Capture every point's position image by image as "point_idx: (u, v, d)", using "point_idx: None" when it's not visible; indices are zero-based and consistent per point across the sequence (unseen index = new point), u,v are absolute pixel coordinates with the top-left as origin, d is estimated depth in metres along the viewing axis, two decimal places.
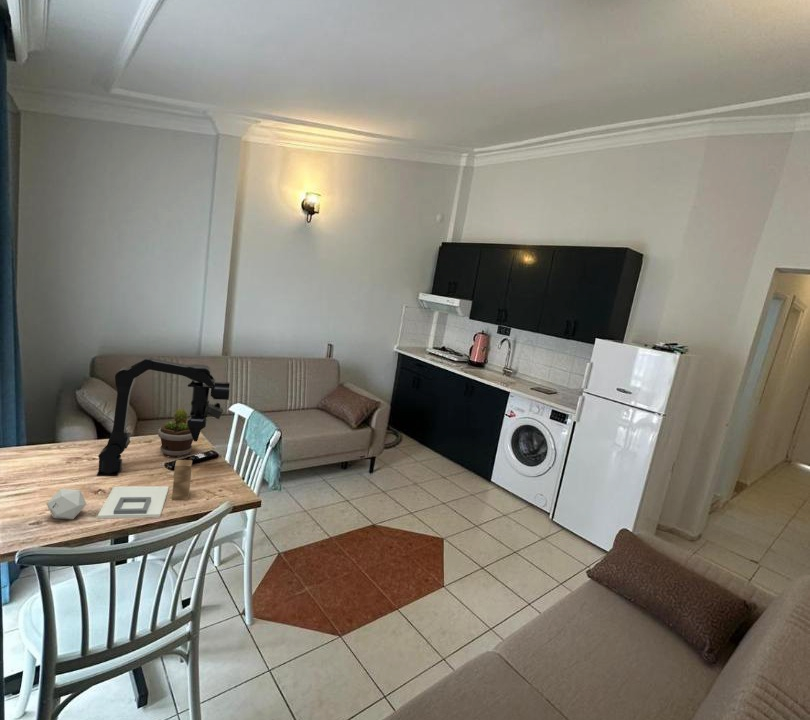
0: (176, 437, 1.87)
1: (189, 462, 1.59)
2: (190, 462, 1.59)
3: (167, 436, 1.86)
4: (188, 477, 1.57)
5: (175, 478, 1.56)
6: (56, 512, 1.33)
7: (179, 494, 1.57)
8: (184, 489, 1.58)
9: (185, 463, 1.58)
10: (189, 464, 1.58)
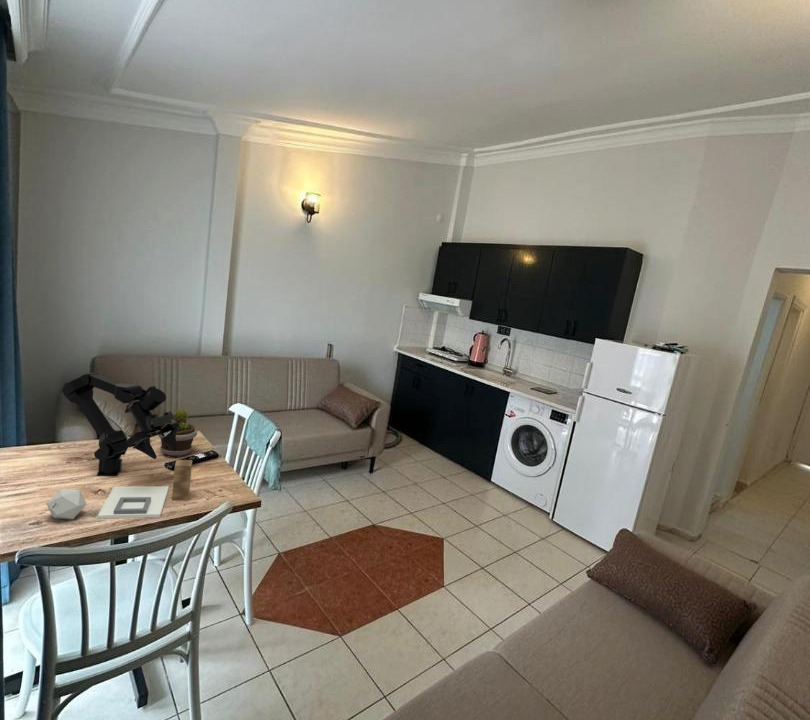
0: (176, 437, 1.87)
1: (189, 462, 1.59)
2: (190, 462, 1.59)
3: None
4: (188, 477, 1.57)
5: (175, 478, 1.56)
6: (56, 512, 1.33)
7: (179, 494, 1.57)
8: (184, 489, 1.58)
9: (185, 463, 1.58)
10: (189, 464, 1.58)
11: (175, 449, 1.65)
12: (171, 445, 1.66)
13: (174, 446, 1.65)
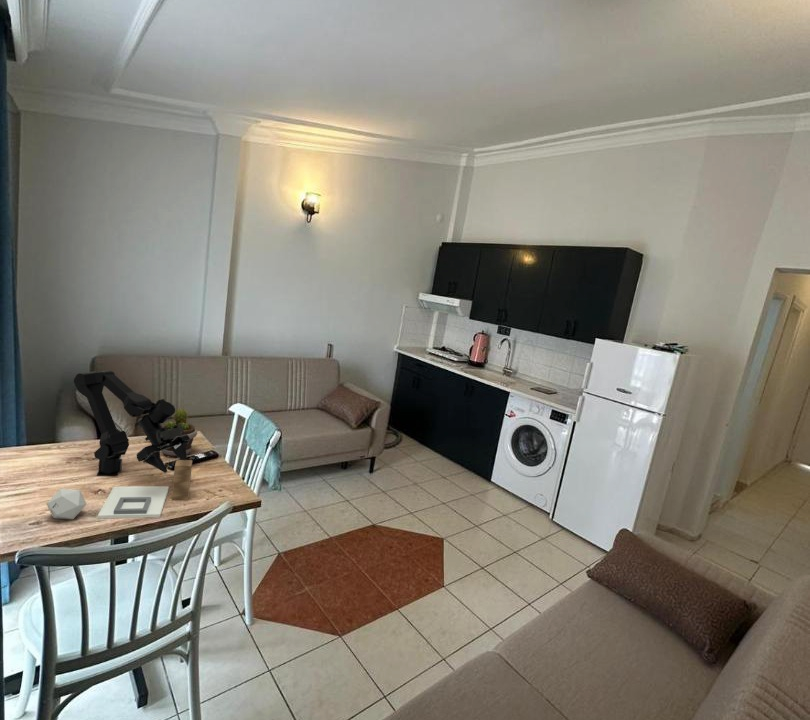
0: (176, 437, 1.87)
1: (189, 462, 1.59)
2: (190, 462, 1.59)
3: None
4: (188, 477, 1.57)
5: (175, 478, 1.56)
6: (56, 512, 1.33)
7: (179, 494, 1.57)
8: (184, 489, 1.58)
9: (185, 463, 1.58)
10: (189, 464, 1.58)
11: None
12: (181, 458, 1.64)
13: (184, 459, 1.64)
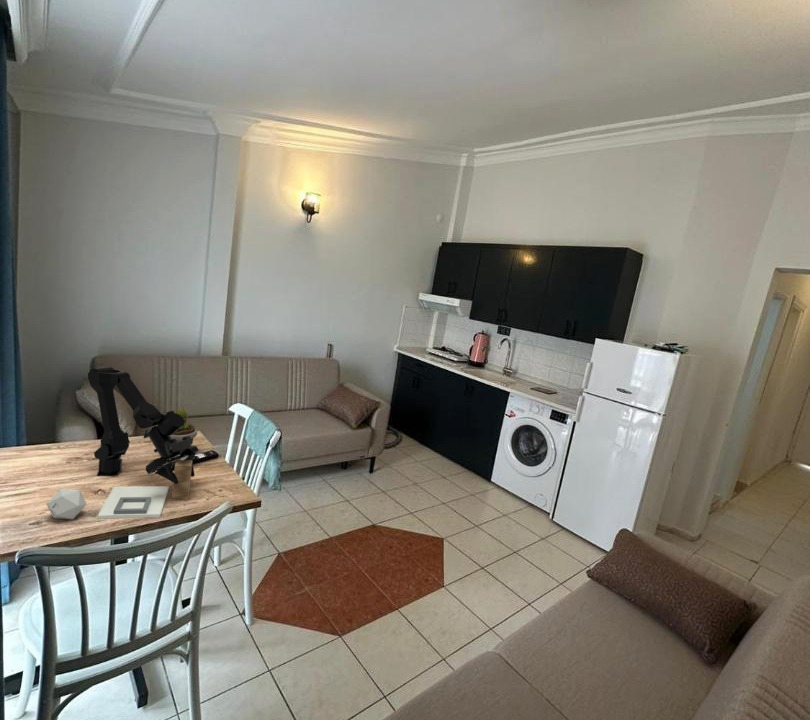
0: (176, 437, 1.87)
1: (189, 462, 1.59)
2: (190, 462, 1.59)
3: None
4: (188, 477, 1.57)
5: None
6: (56, 512, 1.33)
7: (179, 494, 1.57)
8: (184, 489, 1.58)
9: (185, 463, 1.58)
10: (189, 464, 1.58)
11: (192, 474, 1.62)
12: None
13: (191, 471, 1.62)
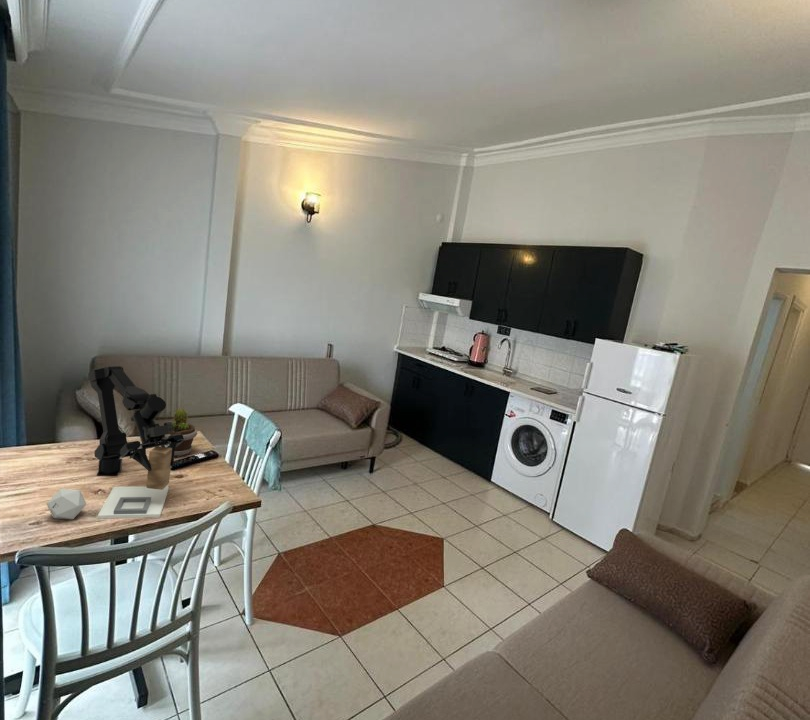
0: None
1: (166, 450, 1.50)
2: (168, 450, 1.50)
3: (167, 436, 1.86)
4: (163, 465, 1.48)
5: None
6: (56, 512, 1.33)
7: (154, 483, 1.49)
8: (158, 478, 1.49)
9: (161, 450, 1.49)
10: (165, 451, 1.48)
11: (171, 463, 1.53)
12: None
13: (171, 460, 1.53)
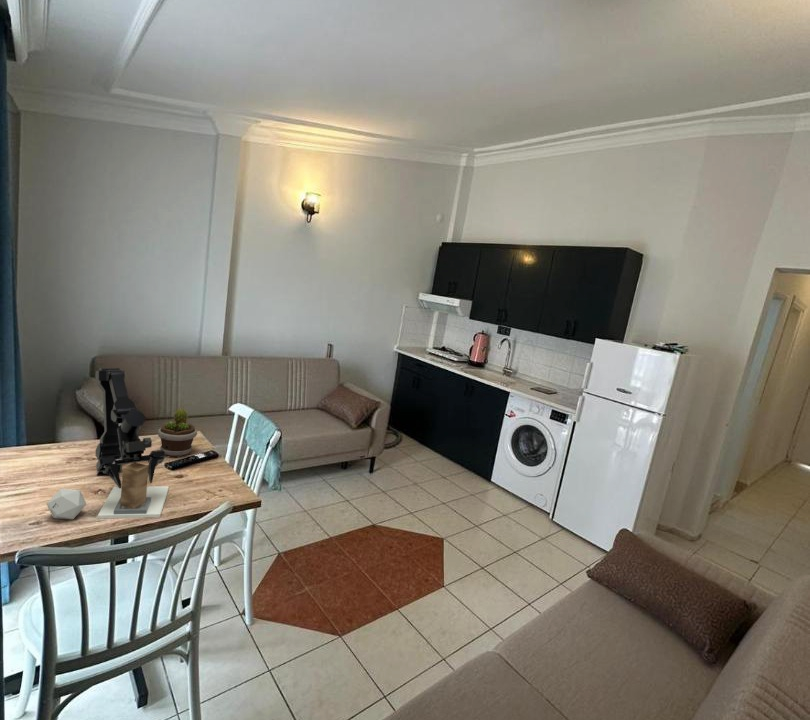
0: (176, 437, 1.87)
1: (141, 467, 1.45)
2: (142, 467, 1.45)
3: (167, 436, 1.86)
4: (135, 483, 1.43)
5: (123, 482, 1.44)
6: (56, 512, 1.33)
7: (127, 501, 1.44)
8: (131, 496, 1.44)
9: (136, 467, 1.45)
10: (138, 469, 1.44)
11: (150, 481, 1.48)
12: (149, 475, 1.49)
13: (150, 477, 1.48)
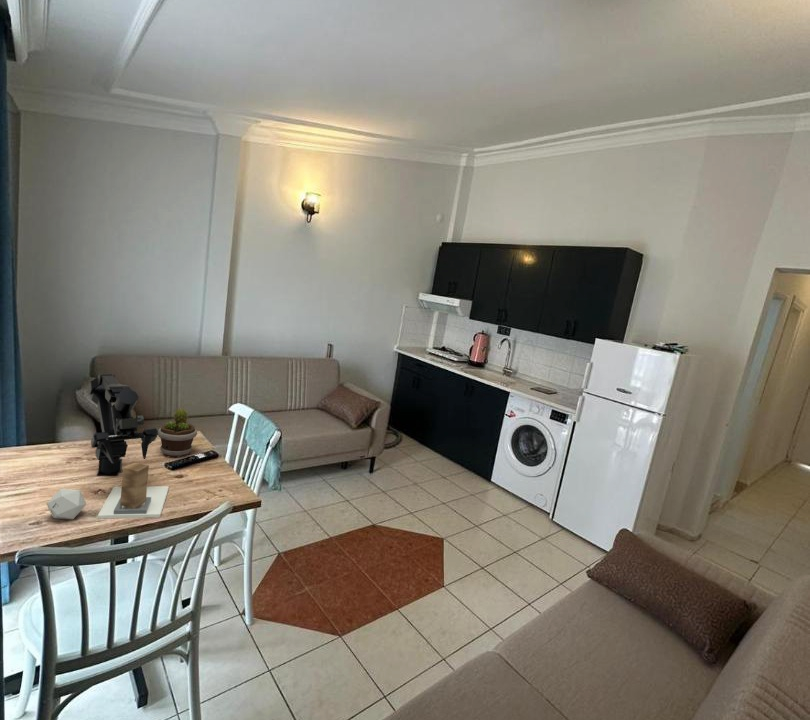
0: (176, 437, 1.87)
1: (141, 467, 1.45)
2: (142, 467, 1.45)
3: (167, 436, 1.86)
4: (135, 483, 1.43)
5: (123, 482, 1.44)
6: (56, 512, 1.33)
7: (127, 501, 1.44)
8: (131, 496, 1.44)
9: (136, 467, 1.45)
10: (138, 469, 1.44)
11: (144, 457, 1.54)
12: (142, 452, 1.55)
13: (143, 453, 1.54)
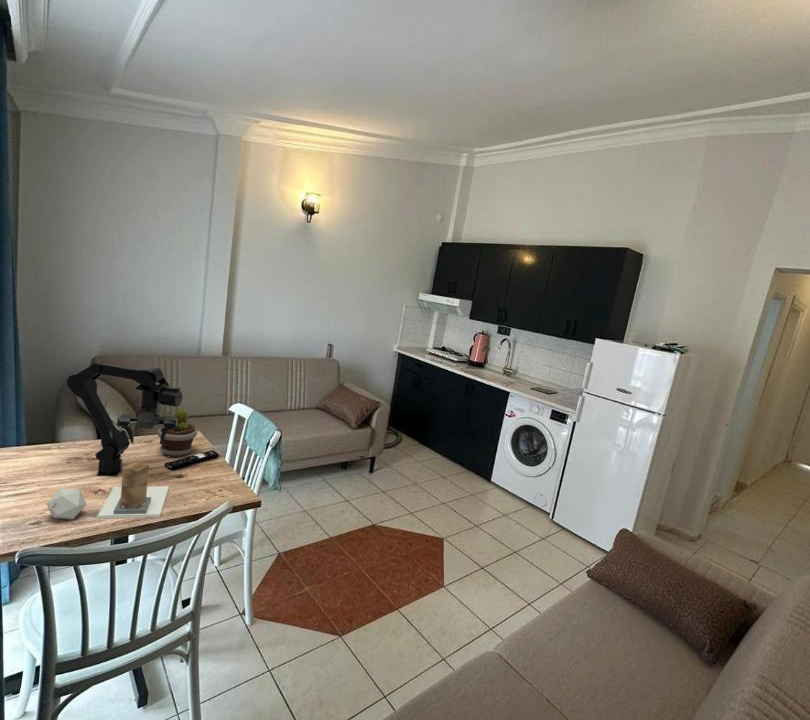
0: (176, 437, 1.87)
1: (141, 467, 1.45)
2: (142, 467, 1.45)
3: (167, 436, 1.86)
4: (135, 483, 1.43)
5: (123, 482, 1.44)
6: (56, 512, 1.33)
7: (127, 501, 1.44)
8: (131, 496, 1.44)
9: (136, 467, 1.45)
10: (138, 469, 1.44)
11: (160, 442, 1.69)
12: None
13: None
